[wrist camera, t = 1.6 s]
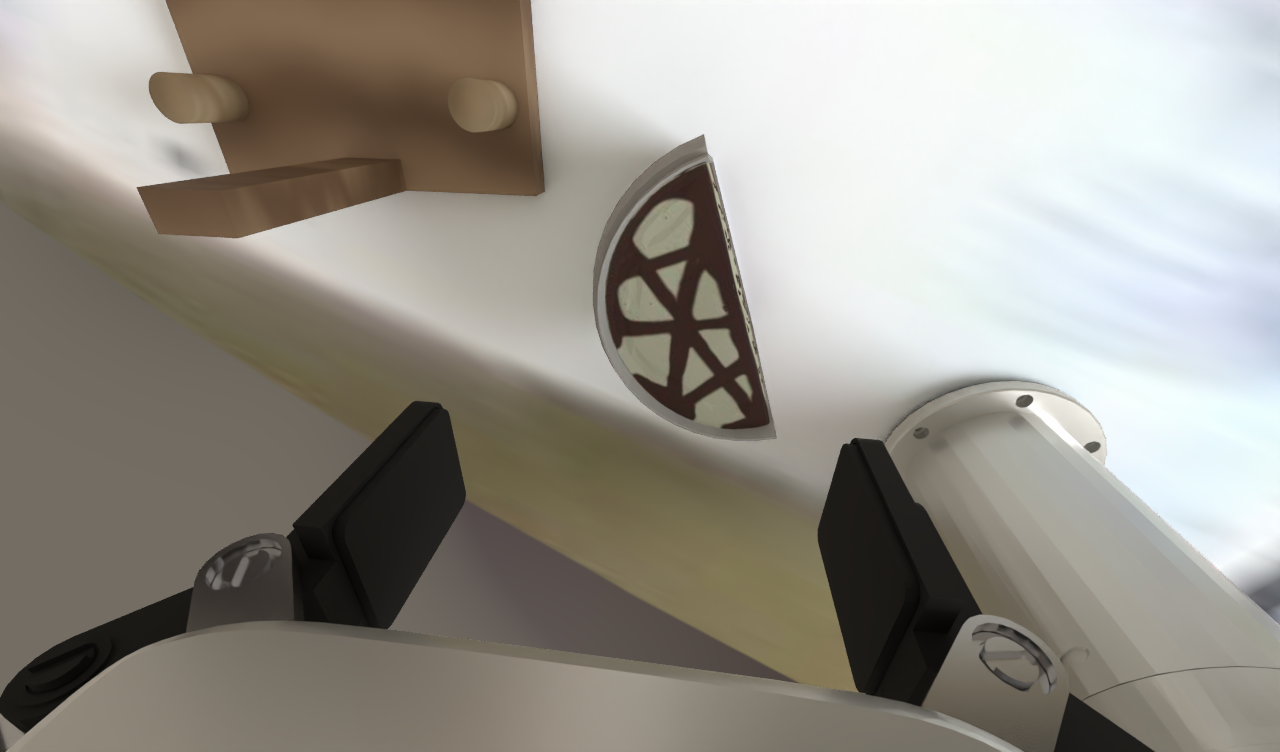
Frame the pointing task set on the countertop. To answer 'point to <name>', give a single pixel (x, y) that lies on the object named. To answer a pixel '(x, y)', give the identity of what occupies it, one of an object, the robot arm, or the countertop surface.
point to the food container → (680, 302)
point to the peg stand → (347, 106)
